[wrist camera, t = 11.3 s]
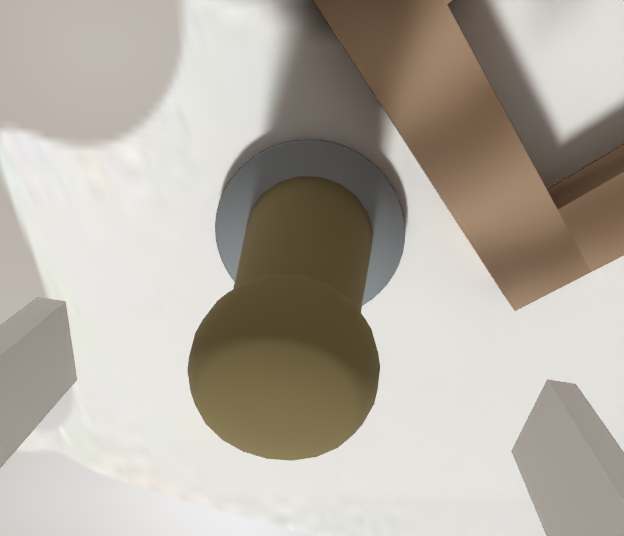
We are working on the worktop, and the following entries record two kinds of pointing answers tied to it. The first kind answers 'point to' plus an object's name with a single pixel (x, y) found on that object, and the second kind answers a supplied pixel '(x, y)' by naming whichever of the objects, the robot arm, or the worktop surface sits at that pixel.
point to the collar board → (480, 149)
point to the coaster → (318, 163)
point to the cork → (291, 328)
